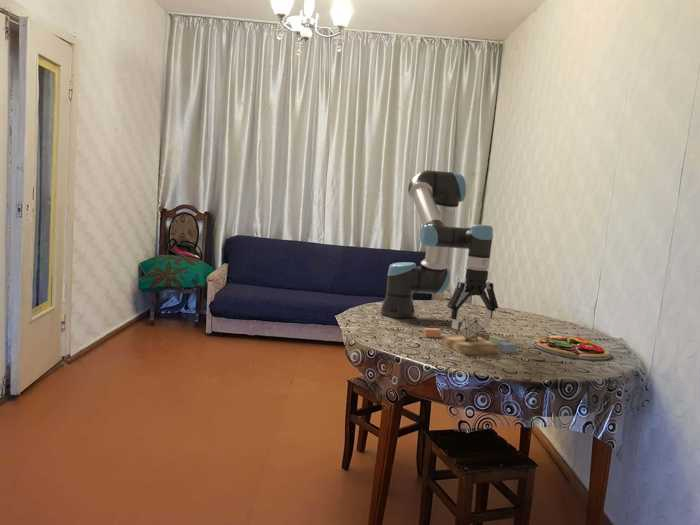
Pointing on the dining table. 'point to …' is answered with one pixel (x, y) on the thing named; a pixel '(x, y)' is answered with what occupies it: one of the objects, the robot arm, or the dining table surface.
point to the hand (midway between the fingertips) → (470, 328)
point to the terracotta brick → (431, 332)
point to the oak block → (469, 345)
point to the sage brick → (496, 339)
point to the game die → (470, 329)
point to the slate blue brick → (507, 347)
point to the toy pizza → (572, 348)
